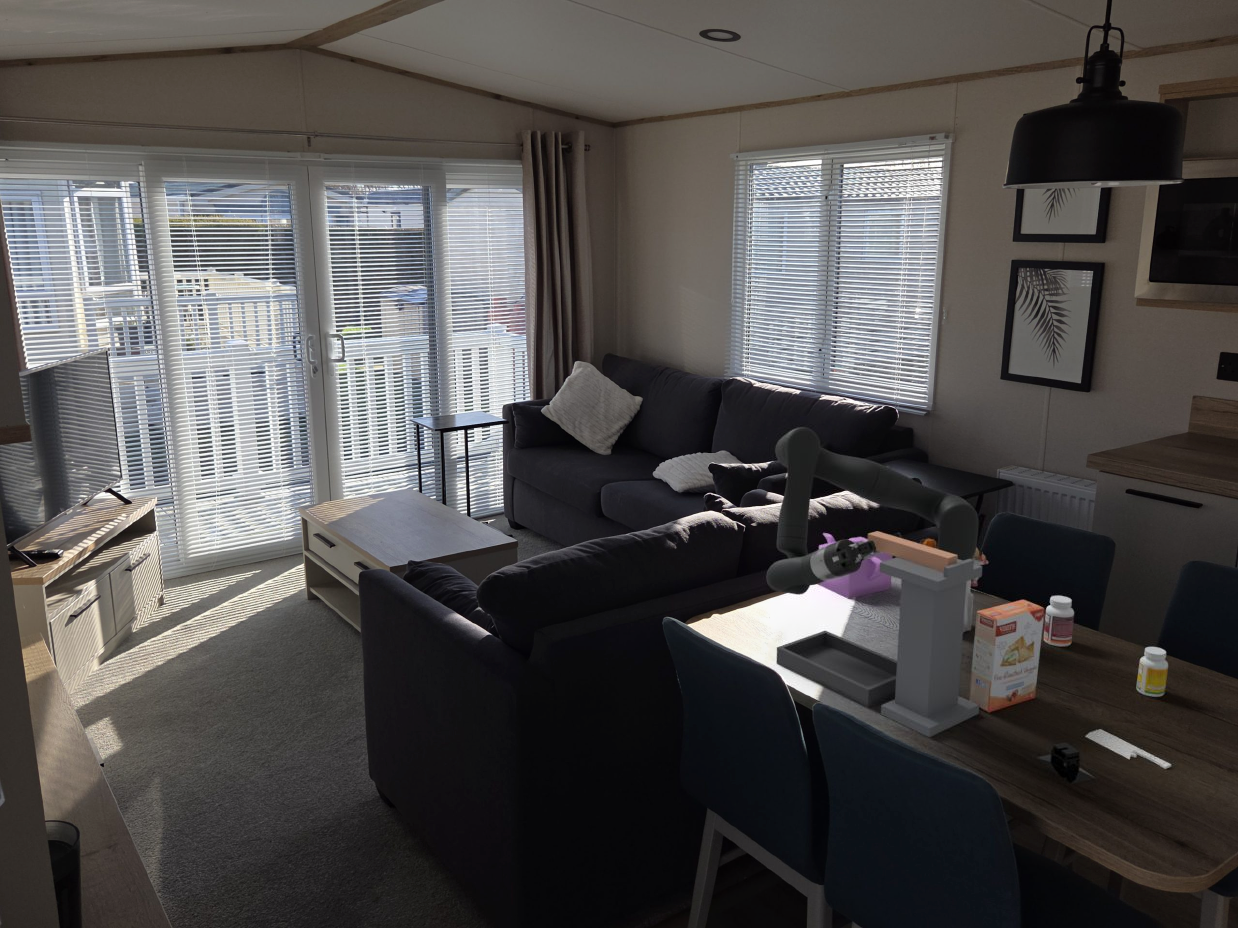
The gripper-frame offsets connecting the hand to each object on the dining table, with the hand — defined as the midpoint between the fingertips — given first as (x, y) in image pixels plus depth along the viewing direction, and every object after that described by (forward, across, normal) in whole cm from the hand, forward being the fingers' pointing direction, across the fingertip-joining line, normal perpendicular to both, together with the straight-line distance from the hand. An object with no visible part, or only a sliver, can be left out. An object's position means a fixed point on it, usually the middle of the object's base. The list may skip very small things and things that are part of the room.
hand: (887, 541), depth 205 cm
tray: (-26, 0, +24) cm, 36 cm away
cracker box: (-1, +17, +39) cm, 43 cm away
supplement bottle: (+13, +46, +47) cm, 67 cm away
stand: (-7, 0, +35) cm, 36 cm away
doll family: (-46, +66, +13) cm, 81 cm away
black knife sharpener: (+18, +3, +51) cm, 54 cm away
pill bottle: (-10, +54, +34) cm, 64 cm away
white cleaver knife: (+21, +18, +52) cm, 59 cm away
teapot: (-58, +44, +6) cm, 74 cm away
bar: (+4, 0, +5) cm, 6 cm away
